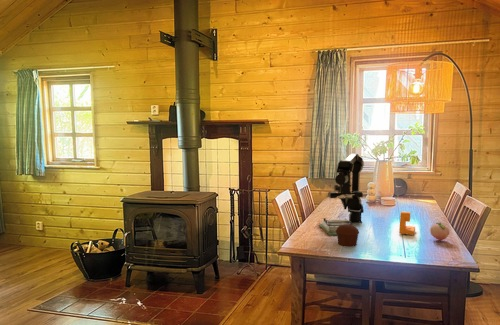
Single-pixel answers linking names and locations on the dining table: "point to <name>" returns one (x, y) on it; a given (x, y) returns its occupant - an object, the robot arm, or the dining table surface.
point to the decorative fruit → (439, 231)
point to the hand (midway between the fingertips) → (345, 209)
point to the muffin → (347, 235)
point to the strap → (336, 224)
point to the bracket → (403, 228)
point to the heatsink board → (331, 229)
